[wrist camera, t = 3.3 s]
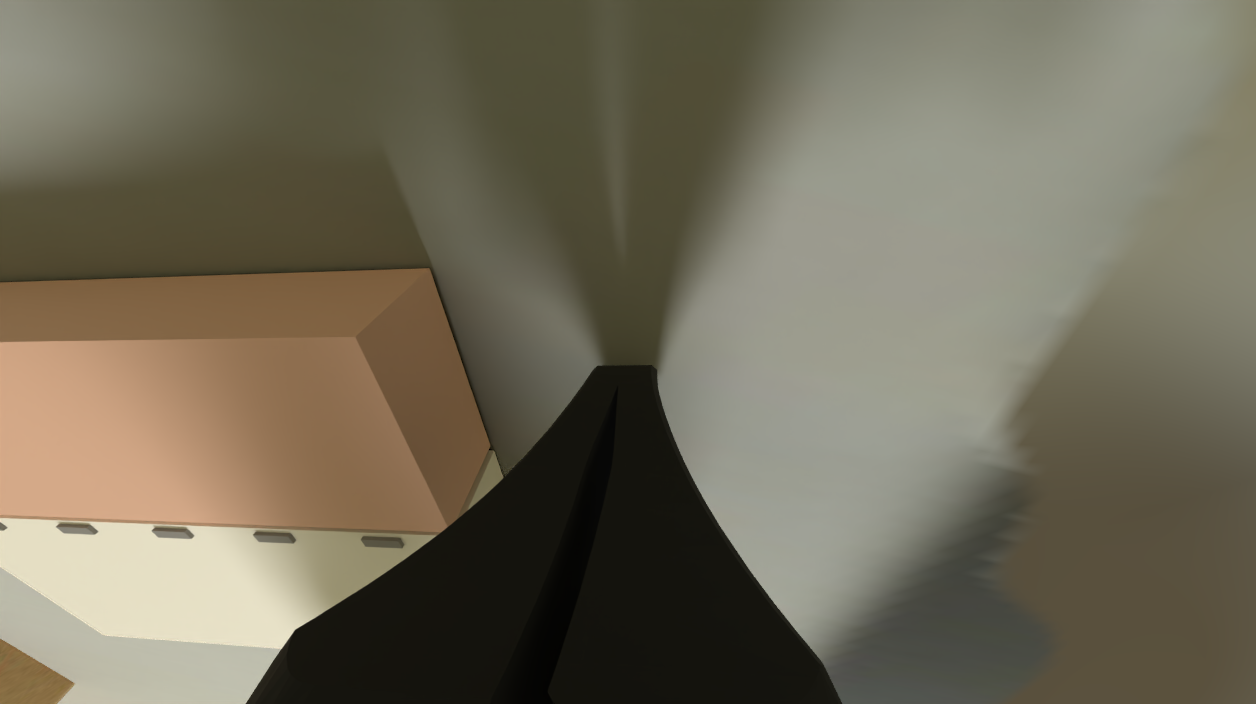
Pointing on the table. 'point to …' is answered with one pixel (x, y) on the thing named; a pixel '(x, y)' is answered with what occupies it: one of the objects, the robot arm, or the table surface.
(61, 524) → the board
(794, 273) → the table surface
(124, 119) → the table surface
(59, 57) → the table surface
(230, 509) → the block
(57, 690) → the sandwich container
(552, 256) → the table surface
